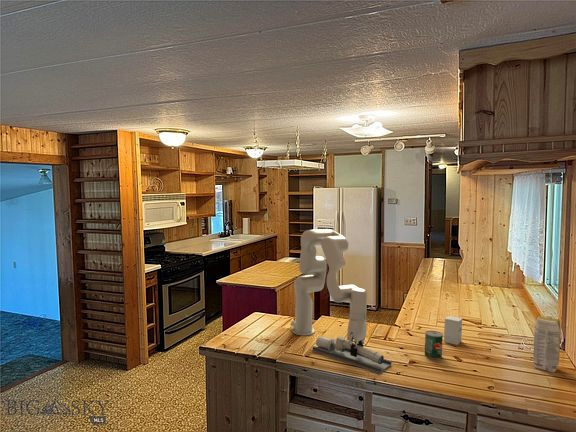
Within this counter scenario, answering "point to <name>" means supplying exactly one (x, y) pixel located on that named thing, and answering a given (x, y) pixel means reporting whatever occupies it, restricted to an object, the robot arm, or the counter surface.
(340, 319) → the counter surface
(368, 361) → the pipe jig board
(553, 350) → the juice carton
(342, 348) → the white electric toothbrush
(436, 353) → the canned tomato
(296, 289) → the robot arm
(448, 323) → the supplement box
